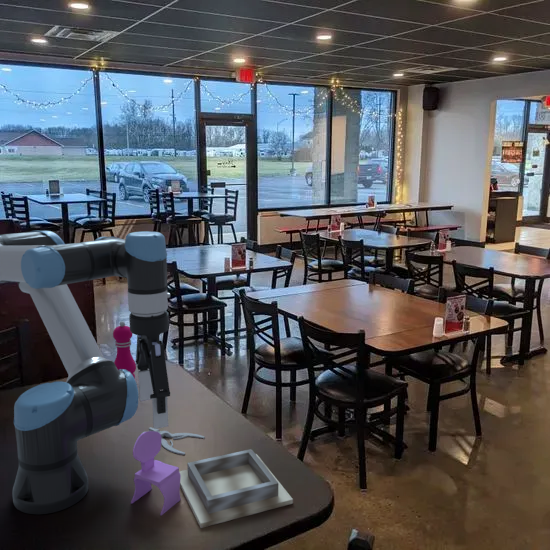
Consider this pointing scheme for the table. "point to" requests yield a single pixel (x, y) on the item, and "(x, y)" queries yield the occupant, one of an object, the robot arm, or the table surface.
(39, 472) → the robot arm
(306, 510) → the table surface
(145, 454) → the toy chair
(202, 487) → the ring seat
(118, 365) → the pepper mill
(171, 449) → the pliers
